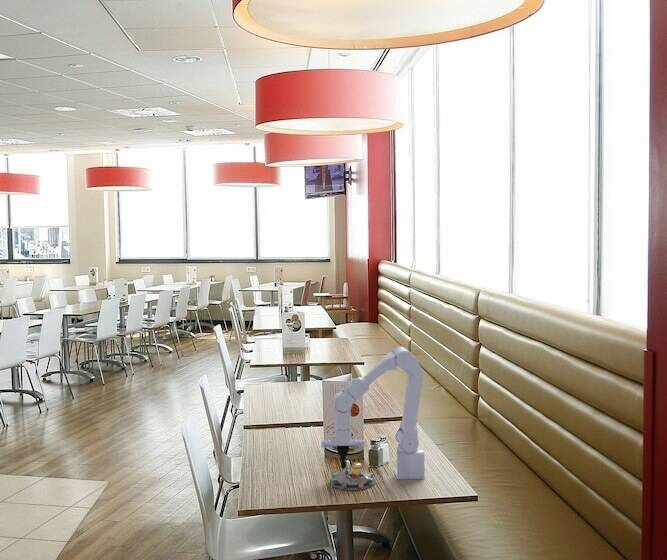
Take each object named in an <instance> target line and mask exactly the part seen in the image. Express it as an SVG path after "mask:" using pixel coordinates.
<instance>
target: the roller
mask: <svg viewBox="0 0 667 560" xmlns="http://www.w3.org/2000/svg"><path fill="white" fill-rule="evenodd" d="M350 467H351V469H350V470H351V478H352V479H353V478H360V477H361V470H362V463H361V462H356V461H355V462H352V463H351V466H350Z"/></svg>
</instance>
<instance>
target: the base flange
mask: <svg viewBox="0 0 667 560" xmlns="http://www.w3.org/2000/svg"><path fill="white" fill-rule="evenodd" d="M329 484H330V486H332V488H335V489H338V490H341V491H354V492H355V491H362V490H363V491H364V490H368V489H370V488H372V487H374V486H375V485H376V479H375V478H374V483H372V484H367V485H364V486H363V487H361V488H358V487H347V488H343V487H342V486H341V485H338V484H333V483H332V478H331V479H330V481H329Z"/></svg>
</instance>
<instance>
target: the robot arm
mask: <svg viewBox="0 0 667 560" xmlns="http://www.w3.org/2000/svg"><path fill="white" fill-rule="evenodd" d="M398 368H399V369H401V370H403V372H404V373H405V374H406V375H407V380H406V381H407V382H406V389H405V395H404V396H405V397H404V402H403V409H402V410H403V411H402V418H401V421H400V423H399V427H398V430H397V431H396V433H395V441H396V442H397V443H398V445H397V446H396V469H395V470H394V473H395V476H396V479H397V480H419V479H420V480H422V479H423V480H425V479H426V477H425V471H426V469H425V454H424V453H425V452H424V449H419V445H420V441H419V438H418V434H419V433H418V426H417V422H418V416H419V408H420V401H421V394H422V386H423V378H424V372H423V370H422V367H421V365H420V362H419V361H418V358H417V357H416V356H415V355H414V353H412V352H411V351H409V350H408V349H407V348H405V347H404V346H396V347H394V348H393V350H392V351H389V352H388V353H387V354H386V355H385V356H384V357H383V358H382V359H381V360H380V361H378V363H376V364H375V365H374V366H373V367H372V368H371V369H370V370H369V371H368V372H367V373H366V374H365V375H364V376H362V377H361V376H358V377H357V376H356V378H354V377H353V378H352V379H351V383H349V384H348V385H347V386H345V388H341V389H340V391H339V392H337V393H335V395H334V396H333V399H332V403H333V405H334V415H333V421H334V423H333V425H334V427H333V429H334V438H333V439H324V440H321V448H331V447H333V448H336V450H337V454H339V455H338V456H339V458H340V461H341V462H340V467H341V469H345V461H346V459H347V458H346V457H347V455H348V453H349V451H350V447H351V448H352V447H361V448H365V446H366V445H365V439H357V438H352V413H351V409H352V408H353V406H354V405H353V403H356V402H357V401H358V400H359V399H360V398H361V397H363V396H364V395H365V394H366V393H367V392H368V391H369V390H370V385H371V384H373V382H375V381H376V380H377V379H379V378H380V377H381V376H383V374H385V373H386V372H387V371H397V370H398Z"/></svg>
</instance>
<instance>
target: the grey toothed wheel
mask: <svg viewBox="0 0 667 560" xmlns="http://www.w3.org/2000/svg"><path fill="white" fill-rule="evenodd" d="M350 463H351V462H350V460H348V459H345V468H344V469H342V471H339V472H333V473H332V474H331V479H332V483H333V484H338V485H341V486H342V487H343V488H347V487H358V488H361V487H363V486H364V485H367V484H372V483H374V479H375V478H374V473H372V472H367V471H364V469H361V477H360V478H353V479H352V478H351V470H352V469H350V467H351V466H350Z"/></svg>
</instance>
